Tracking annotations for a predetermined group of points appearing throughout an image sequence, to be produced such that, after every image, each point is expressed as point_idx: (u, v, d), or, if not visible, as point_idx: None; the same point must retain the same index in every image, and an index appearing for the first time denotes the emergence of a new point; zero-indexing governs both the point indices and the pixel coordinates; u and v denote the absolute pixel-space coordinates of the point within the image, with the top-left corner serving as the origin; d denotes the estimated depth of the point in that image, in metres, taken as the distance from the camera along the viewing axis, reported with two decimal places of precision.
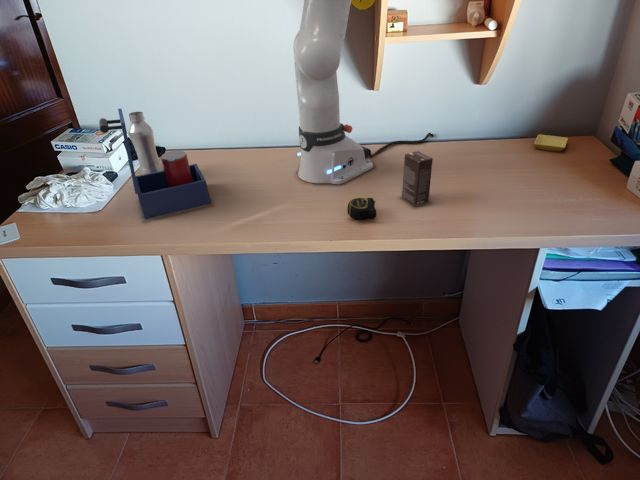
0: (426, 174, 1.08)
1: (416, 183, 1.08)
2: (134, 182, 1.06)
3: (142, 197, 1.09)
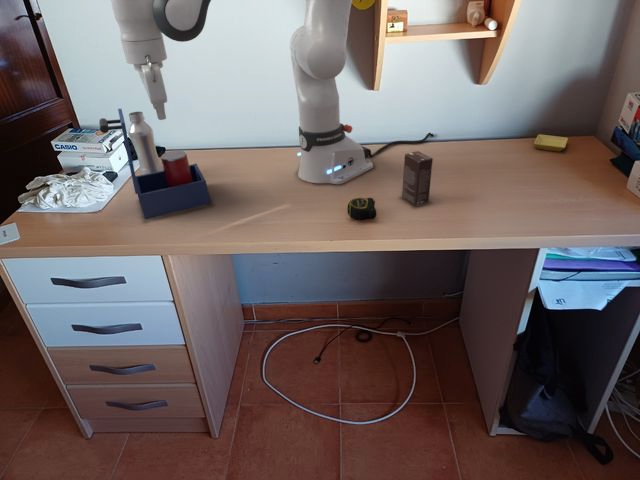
0: (426, 174, 1.08)
1: (416, 183, 1.08)
2: (134, 182, 1.06)
3: (142, 197, 1.09)
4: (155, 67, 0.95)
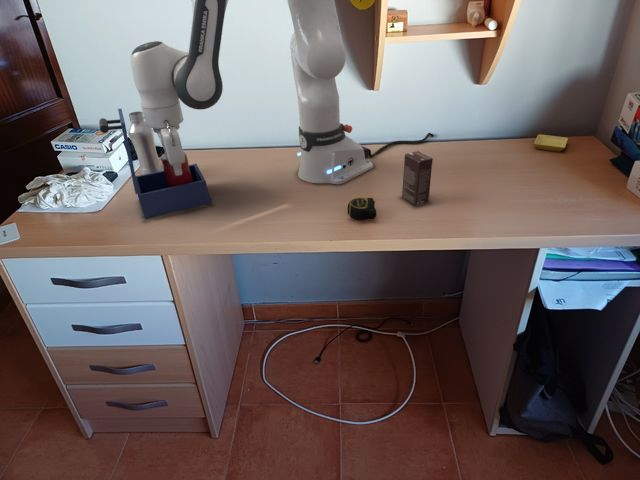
0: (426, 174, 1.08)
1: (416, 183, 1.08)
2: (134, 182, 1.06)
3: (142, 197, 1.09)
4: (174, 132, 1.03)
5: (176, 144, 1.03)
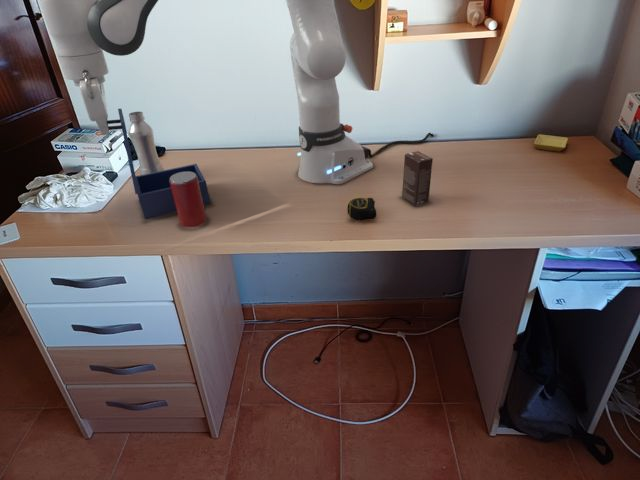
0: (426, 174, 1.08)
1: (416, 183, 1.08)
2: (134, 182, 1.06)
3: (142, 197, 1.09)
4: (92, 83, 0.91)
5: (95, 96, 0.91)
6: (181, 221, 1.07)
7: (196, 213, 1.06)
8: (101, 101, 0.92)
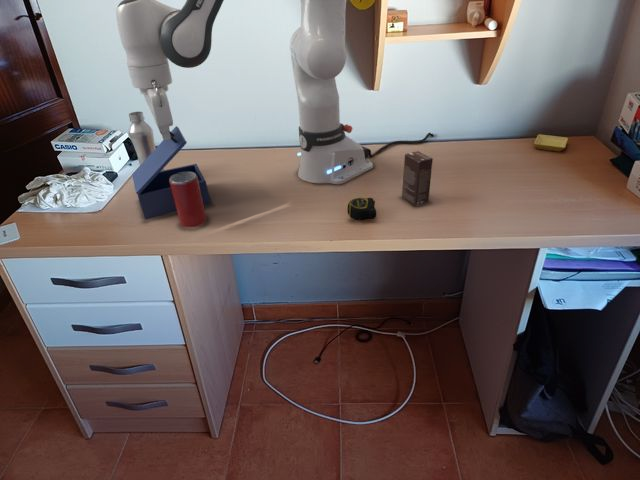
0: (426, 174, 1.08)
1: (416, 183, 1.08)
2: (145, 184, 1.08)
3: (142, 197, 1.09)
4: (161, 92, 0.97)
5: (163, 104, 0.98)
6: (181, 221, 1.07)
7: (196, 213, 1.06)
8: (169, 109, 0.98)
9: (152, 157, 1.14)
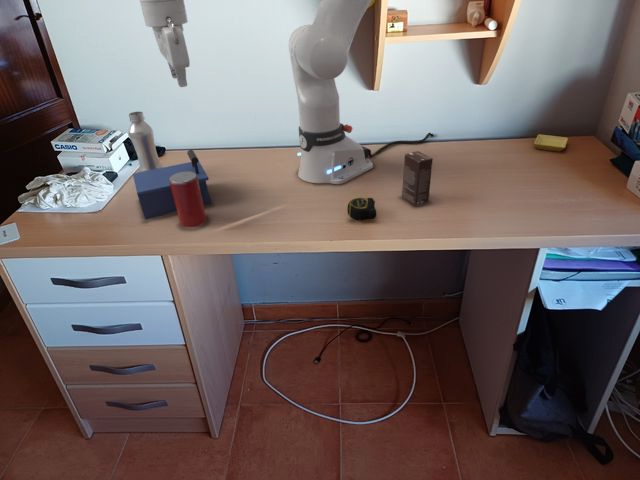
0: (426, 174, 1.08)
1: (416, 183, 1.08)
2: (150, 190, 1.09)
3: (142, 197, 1.09)
4: (177, 28, 0.90)
5: (180, 42, 0.91)
6: (181, 221, 1.07)
7: (196, 213, 1.06)
8: (185, 47, 0.91)
9: (163, 172, 1.17)
